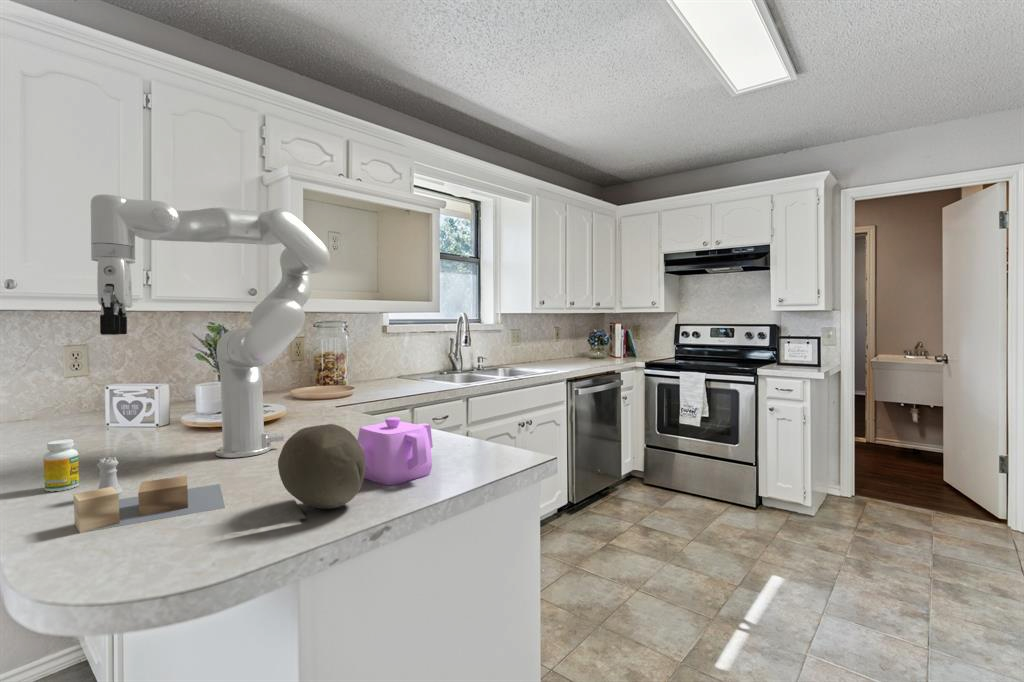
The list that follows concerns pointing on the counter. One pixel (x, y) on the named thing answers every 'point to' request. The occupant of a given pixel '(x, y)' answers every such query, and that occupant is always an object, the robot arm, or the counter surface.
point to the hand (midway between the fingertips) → (114, 334)
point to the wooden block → (163, 495)
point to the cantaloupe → (322, 466)
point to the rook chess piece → (109, 474)
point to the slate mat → (197, 502)
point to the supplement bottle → (61, 466)
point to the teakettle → (396, 451)
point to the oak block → (96, 509)
